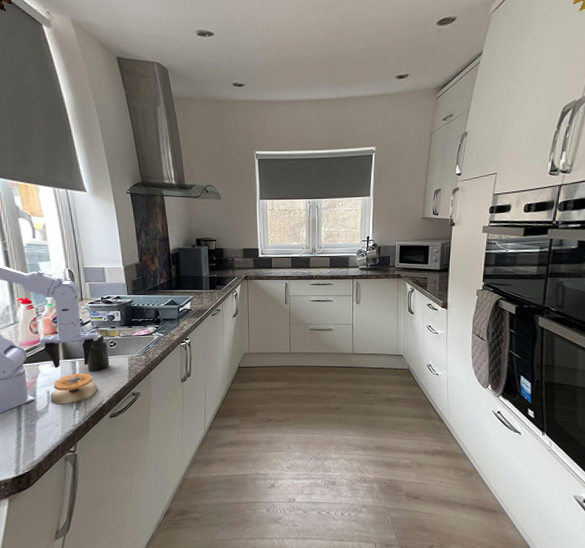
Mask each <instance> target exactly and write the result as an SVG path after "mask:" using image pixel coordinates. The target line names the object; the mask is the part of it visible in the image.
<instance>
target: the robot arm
mask: <svg viewBox="0 0 585 548" xmlns="http://www.w3.org/2000/svg"><path fill="white" fill-rule="evenodd" d="M0 280H1V281H5V282H9V283H13V284H17V285H21V287H22V289H23V291H24V290H25V291H26V292H29V293H33V294H37V295H40V296H44V297H47V298H52V299H53V301H54V302H55V315H56V316H55V317H56V326H57V327H56V328H57V334H56V335H50V336H42V337H40V339H39V340H40V341H39V342H40V343H39V344H40V346H44V348H43V350H44V351H45V352H46V353H47V354H48V356H49V357H50V359H51V361H52V363H53V366H54V368H55V369H56V368H57V369H58V368H59V366H60V362H61V361H60V354H59V344H64V343H65V344H66V343H74V342H83V343H82V349H83V355H84V357H83V358H84V361H83V363H84V365H87V364H88V362H89V354H90V350H91V347H92V345H93V342H94V341H96V340H97V339H98V334H99V332H81V331H82V330H81V319H80V318H81V317H80V316H81V315H80V306H79V299H78V297H79V296H78V295H79V292H80V287H79V285H78V283H76V282H75V281H72V279H64V280H63V278H61V277H58V278H57V277H53V276H50V275H47V274H45V272H44V271H42V270H39V271H32V272H29V273H25V272H22V271H18V270H16V269H14V268H10V267H8V266H4V265H2V264H0ZM25 291H24V292H25ZM27 356H28V355H27V352H26V350H25V349H24V348H22V347H20V346H18V345H17V344H15V343H14V342H13V341H12V340H9V339H6V338H4V336H3V334H1V333H0V414H1V413H4V412H6V411H8V410H11V409H14V408H16V407H19V406H21V405H24V404H27V403H29V402H32V401H34V400H35V397H33V396H31V395H29V394H28V387H27V386H28V385H27V377H26V376H27V375H26V368H25V366H24V365H23V364H24V362H25V361H26V360H27Z"/></svg>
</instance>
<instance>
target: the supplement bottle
mask: <svg viewBox="0 0 585 548" xmlns="http://www.w3.org/2000/svg"><path fill="white" fill-rule="evenodd" d="M109 357H110V356H109V347H108V343H107V342H106V341H105V338H104V334H101V333H100V334H99V333H98V339H97V340H96V341H94V342H93V345H92V347H91V350H90V354H89V362H88V364H86V365H87V366H86V367H87V370H88V371H90V372H100V371H104V370H106V369H107V368H108V367H109V366H110V360H109V359H110V358H109Z"/></svg>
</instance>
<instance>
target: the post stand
mask: <svg viewBox="0 0 585 548" xmlns="http://www.w3.org/2000/svg"><path fill="white" fill-rule="evenodd" d="M78 381H79V380H78V377H71V378H69V382H68V383H75V382H78ZM97 390H98V386H97V384H95V382H93V381H91V382H90V383H89V384H88V385H86V386H83V387H81V388H78V389H73V390H68V391H67V390H57V389H55V390H54V391H52V393H51V394H50V401H51V402H52V403H54V404H57V405H68V404H74V403H78V402H81V401H84V400H87V399H89V398H91V397H92V396H94V395H95V394H96V393H97Z"/></svg>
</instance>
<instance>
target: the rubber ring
mask: <svg viewBox="0 0 585 548" xmlns="http://www.w3.org/2000/svg"><path fill="white" fill-rule="evenodd" d="M71 377H78V382H75V383H69V378H71ZM92 378H93V377H92V375H91V374H89V373H74V374H69V375H66V376H64V377H59V378H58V379H57V380H56V381H54V383H53V384H54V385H53V387H54V389H55V390H56V389H57V390H67V391H68V390H73V389H78V388H81V387H83V386H86V385H88V384H89V383H90V382H93V381H92V380H93V379H92Z"/></svg>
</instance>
